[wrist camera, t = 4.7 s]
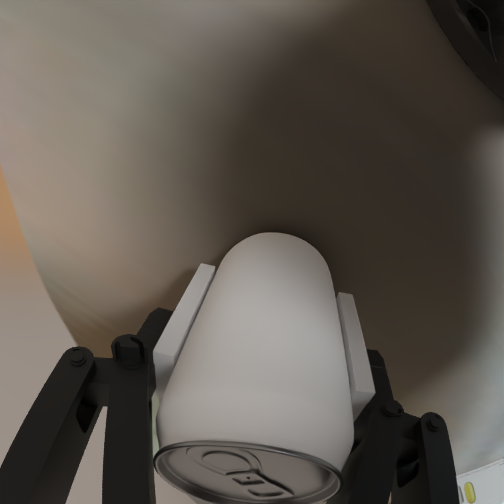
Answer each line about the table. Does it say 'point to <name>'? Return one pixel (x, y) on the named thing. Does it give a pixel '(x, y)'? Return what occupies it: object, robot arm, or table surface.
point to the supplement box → (482, 484)
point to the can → (260, 383)
